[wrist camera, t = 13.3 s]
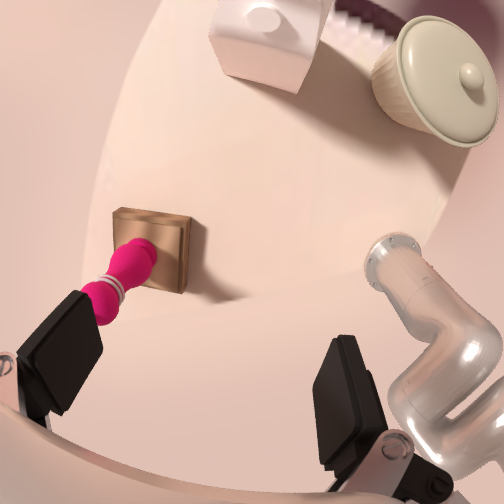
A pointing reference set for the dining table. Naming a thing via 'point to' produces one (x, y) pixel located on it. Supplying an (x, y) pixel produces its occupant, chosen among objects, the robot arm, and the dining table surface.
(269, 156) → the dining table surface
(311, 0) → the milk
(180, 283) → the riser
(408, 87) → the canister
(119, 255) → the pepper mill
